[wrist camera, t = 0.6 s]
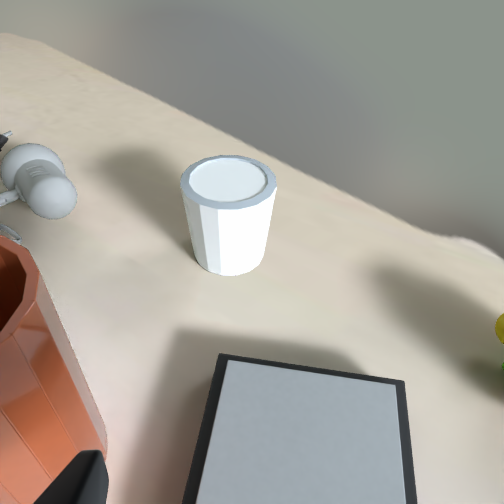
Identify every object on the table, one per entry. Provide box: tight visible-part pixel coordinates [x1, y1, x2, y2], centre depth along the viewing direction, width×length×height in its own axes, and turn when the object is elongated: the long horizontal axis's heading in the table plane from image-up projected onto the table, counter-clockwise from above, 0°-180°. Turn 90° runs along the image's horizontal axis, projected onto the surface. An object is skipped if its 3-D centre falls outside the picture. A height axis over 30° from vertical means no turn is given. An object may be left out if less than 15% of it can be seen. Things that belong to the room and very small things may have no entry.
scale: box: [182, 353, 417, 504], centre depth 23 cm, size 12×11×2 cm
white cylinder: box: [180, 155, 277, 276], centre depth 34 cm, size 7×7×7 cm
